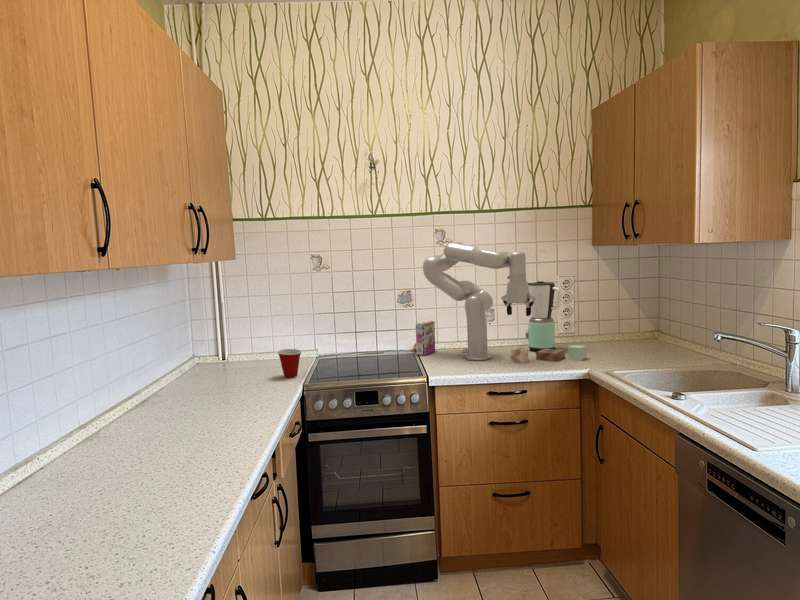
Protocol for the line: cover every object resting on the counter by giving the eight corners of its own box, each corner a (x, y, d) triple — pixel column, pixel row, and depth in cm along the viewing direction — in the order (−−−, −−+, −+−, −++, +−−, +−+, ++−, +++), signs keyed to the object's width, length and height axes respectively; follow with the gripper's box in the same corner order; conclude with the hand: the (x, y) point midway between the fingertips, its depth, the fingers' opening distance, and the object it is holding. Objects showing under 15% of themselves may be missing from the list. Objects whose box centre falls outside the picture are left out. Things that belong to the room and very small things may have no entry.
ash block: (510, 362, 279) (510, 349, 279) (517, 359, 284) (516, 347, 283) (522, 363, 275) (522, 350, 275) (528, 360, 280) (528, 348, 279)
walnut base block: (536, 360, 282) (536, 352, 281) (545, 356, 290) (545, 348, 289) (556, 362, 276) (556, 353, 275) (565, 358, 283) (564, 350, 283)
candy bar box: (424, 356, 302) (423, 324, 300) (416, 355, 305) (414, 323, 303) (436, 351, 311) (434, 320, 309) (428, 351, 314) (426, 320, 312)
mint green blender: (520, 350, 304) (519, 282, 300) (532, 346, 314) (531, 280, 310) (555, 354, 292) (554, 283, 288) (567, 349, 302) (566, 280, 298)
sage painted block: (568, 359, 279) (568, 347, 278) (573, 357, 284) (573, 344, 283) (580, 360, 275) (580, 348, 275) (585, 358, 280) (585, 345, 279)
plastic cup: (297, 379, 263) (295, 352, 262) (275, 379, 266) (273, 352, 264) (307, 373, 273) (305, 348, 272) (285, 373, 276) (283, 348, 275)
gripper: (497, 279, 278) (498, 315, 280) (531, 279, 267) (532, 317, 269) (505, 277, 284) (506, 313, 286) (538, 278, 273) (539, 315, 275)
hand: (518, 315), depth 277 cm, fingers open, 9 cm apart
